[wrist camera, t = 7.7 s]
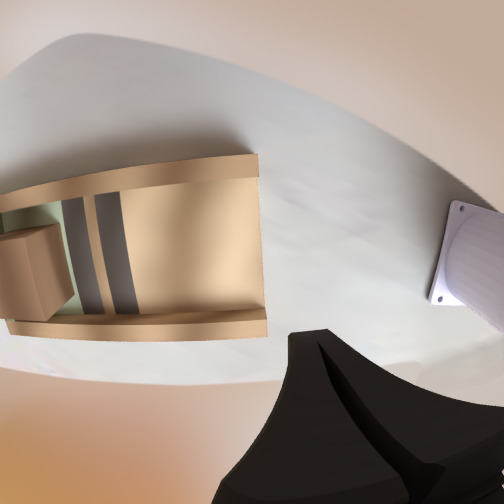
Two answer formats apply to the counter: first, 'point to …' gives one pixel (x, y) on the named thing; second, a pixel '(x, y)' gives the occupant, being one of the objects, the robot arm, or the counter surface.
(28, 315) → the walnut block
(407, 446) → the robot arm
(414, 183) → the counter surface
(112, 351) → the counter surface
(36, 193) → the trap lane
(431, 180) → the counter surface
